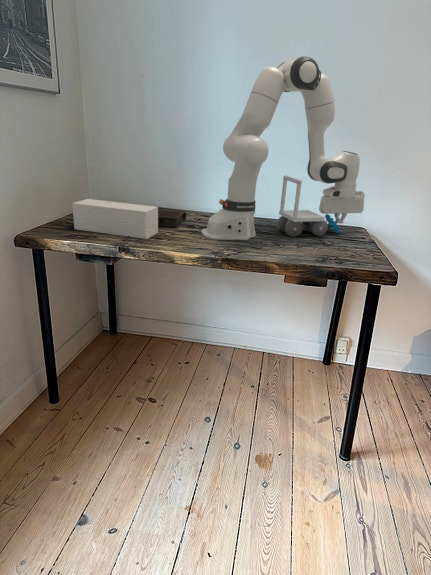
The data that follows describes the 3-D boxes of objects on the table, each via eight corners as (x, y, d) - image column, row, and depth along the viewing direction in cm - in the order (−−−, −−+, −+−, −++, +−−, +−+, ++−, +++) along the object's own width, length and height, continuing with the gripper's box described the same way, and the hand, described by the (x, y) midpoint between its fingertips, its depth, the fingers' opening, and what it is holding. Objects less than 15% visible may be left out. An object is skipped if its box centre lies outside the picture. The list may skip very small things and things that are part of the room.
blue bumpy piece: (338, 232, 175) (325, 213, 177) (326, 240, 178) (313, 221, 180) (344, 230, 185) (331, 212, 186) (333, 238, 188) (321, 220, 189)
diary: (133, 217, 194) (133, 206, 192) (185, 221, 191) (186, 210, 190) (120, 225, 177) (120, 214, 175) (177, 230, 174) (177, 218, 172)
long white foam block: (158, 233, 167) (157, 206, 163) (146, 239, 158) (146, 211, 154) (89, 224, 176) (87, 198, 172) (74, 229, 166) (72, 203, 162)
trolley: (288, 238, 168) (295, 180, 159) (274, 230, 181) (279, 175, 172) (328, 237, 174) (337, 180, 165) (312, 228, 186) (320, 175, 177)
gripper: (360, 190, 181) (355, 220, 186) (319, 190, 175) (315, 222, 181) (369, 192, 176) (363, 224, 181) (327, 192, 170) (322, 225, 175)
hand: (339, 223), depth 181 cm, fingers closed
